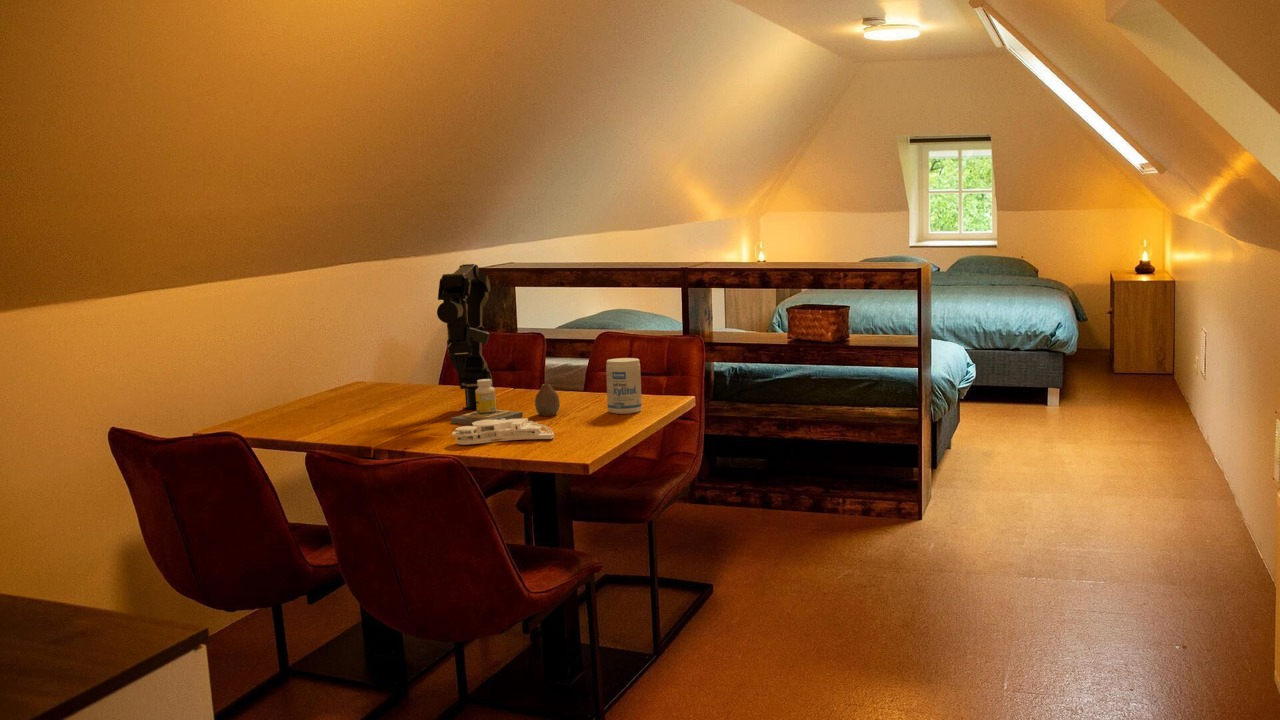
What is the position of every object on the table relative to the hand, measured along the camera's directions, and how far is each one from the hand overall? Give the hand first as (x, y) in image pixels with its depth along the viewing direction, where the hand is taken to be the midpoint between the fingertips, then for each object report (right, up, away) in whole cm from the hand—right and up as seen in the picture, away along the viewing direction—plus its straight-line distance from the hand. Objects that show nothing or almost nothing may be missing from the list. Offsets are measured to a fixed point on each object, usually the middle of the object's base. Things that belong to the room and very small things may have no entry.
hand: (461, 375), depth 307 cm
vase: (+24, -11, +5) cm, 27 cm away
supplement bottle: (+7, -11, +1) cm, 13 cm away
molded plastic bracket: (+16, -15, -20) cm, 30 cm away
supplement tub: (+45, -10, +5) cm, 47 cm away
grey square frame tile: (+7, -12, +1) cm, 14 cm away
